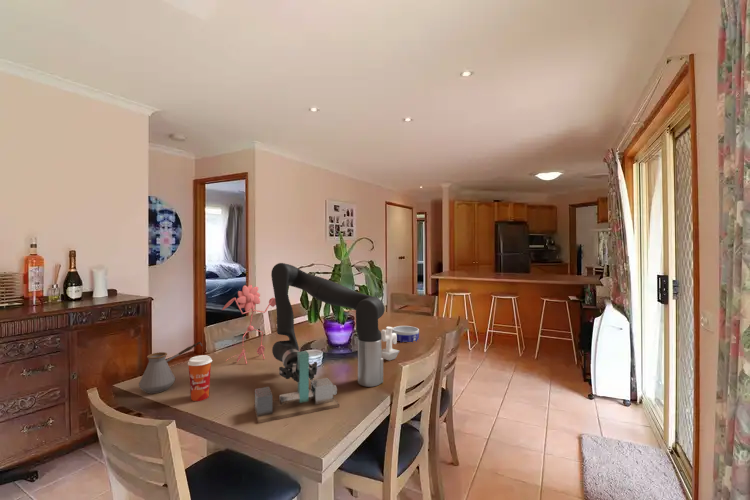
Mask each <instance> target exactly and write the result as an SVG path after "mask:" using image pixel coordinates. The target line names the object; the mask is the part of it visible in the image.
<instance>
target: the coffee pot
mask: <svg viewBox="0 0 750 500" xmlns="http://www.w3.org/2000/svg"><path fill="white" fill-rule="evenodd" d="M197 345H200V346H201V347H203V343H201V341H198V342H196V343H193V344H192V345H190V346H188V347H186V348H184V349H183V350H181V351H179V352H178V353H176V354H174V355H173V356H171V357H169V358H167V359H166V357H167V356H168V353H167V352H163V351H161V352H159V351H158V352H153V353H150V354H148V355H147V356H146V358H147V359H148V363H147V365H146V368H145V369H144V372H143V374H142V376H141V378H140V381H139V383H138V387H139V388H140V390H142V391H143V392H145V393H147V394H157V393H158V394H159V393H162V392H164V391H167V390H169V389H170V387H172V385H173V384H174V383H175V380H176V377H175V375H174V373H173V371H172V369H171V367H170V366H169V363H168V362H170V361H172V360H174V359H175V358H177V357H178V356H181V355H182V354H185V353H186V352H189V351H190V350H192V349H193V348H196V347H197Z"/></svg>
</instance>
